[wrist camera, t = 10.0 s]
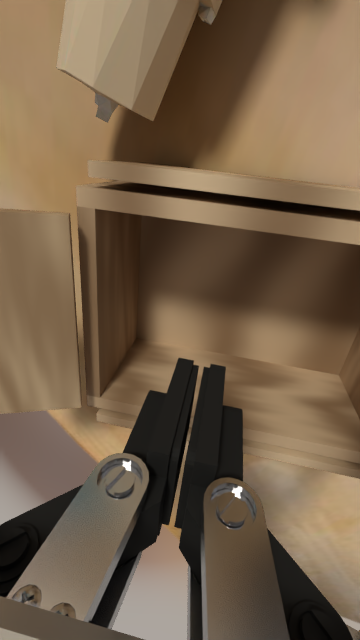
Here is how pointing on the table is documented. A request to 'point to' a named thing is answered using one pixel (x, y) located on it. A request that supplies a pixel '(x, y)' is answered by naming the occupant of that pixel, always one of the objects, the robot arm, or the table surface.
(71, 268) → the flap
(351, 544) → the table surface
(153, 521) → the robot arm
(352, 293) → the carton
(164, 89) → the butterfly valve
